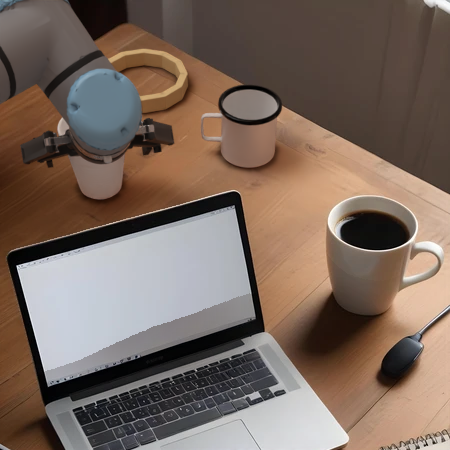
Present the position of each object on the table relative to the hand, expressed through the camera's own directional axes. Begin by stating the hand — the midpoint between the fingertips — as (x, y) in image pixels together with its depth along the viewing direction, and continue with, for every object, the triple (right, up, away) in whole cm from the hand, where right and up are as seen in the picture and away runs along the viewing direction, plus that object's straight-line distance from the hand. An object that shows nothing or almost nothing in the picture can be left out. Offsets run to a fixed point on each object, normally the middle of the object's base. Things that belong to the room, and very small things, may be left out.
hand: (97, 151), depth 119 cm
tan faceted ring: (+5, +15, +21) cm, 26 cm away
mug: (+20, +2, +10) cm, 23 cm away
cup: (0, -4, +4) cm, 6 cm away
